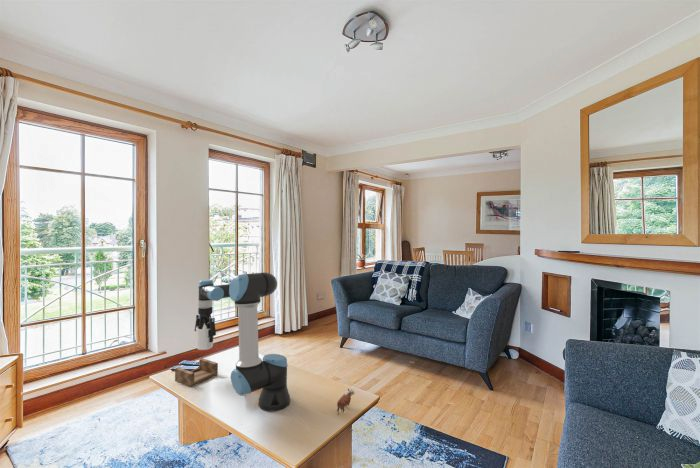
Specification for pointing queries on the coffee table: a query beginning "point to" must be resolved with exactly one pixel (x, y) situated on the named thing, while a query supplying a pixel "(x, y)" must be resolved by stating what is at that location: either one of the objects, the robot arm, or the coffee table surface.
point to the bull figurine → (345, 400)
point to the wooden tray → (197, 373)
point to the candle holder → (202, 338)
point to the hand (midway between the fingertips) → (204, 345)
